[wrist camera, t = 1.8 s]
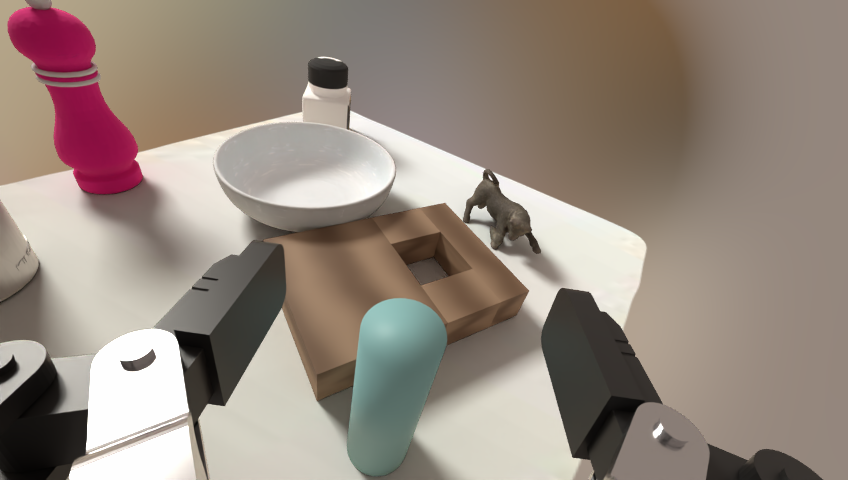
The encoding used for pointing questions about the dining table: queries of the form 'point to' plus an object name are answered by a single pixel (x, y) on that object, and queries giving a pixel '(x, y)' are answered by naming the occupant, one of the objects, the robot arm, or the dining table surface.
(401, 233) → the socket board
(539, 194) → the dining table surface
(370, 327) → the pin
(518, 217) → the dog figurine
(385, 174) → the serving bowl
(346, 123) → the medicine bottle
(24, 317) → the dining table surface
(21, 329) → the dining table surface
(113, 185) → the pepper mill
